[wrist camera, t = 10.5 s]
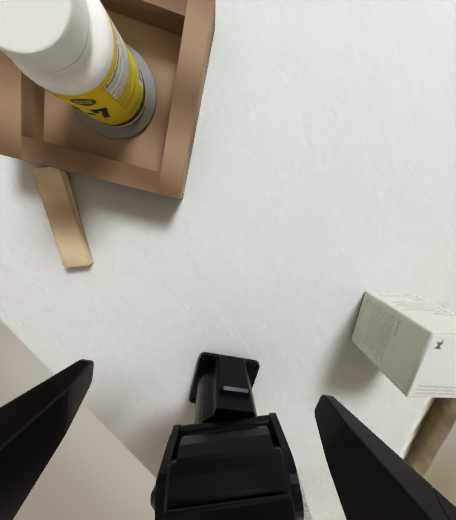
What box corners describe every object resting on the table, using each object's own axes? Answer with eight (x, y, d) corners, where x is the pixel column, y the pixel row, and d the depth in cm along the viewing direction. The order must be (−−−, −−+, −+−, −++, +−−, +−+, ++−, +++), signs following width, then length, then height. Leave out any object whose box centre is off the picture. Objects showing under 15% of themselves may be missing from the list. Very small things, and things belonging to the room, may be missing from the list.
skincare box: (349, 340, 24) (404, 399, 17) (364, 289, 23) (433, 332, 16) (399, 342, 25) (473, 401, 18) (418, 293, 23) (507, 337, 16)
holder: (182, 198, 19) (177, 199, 16) (29, 159, 17) (-4, 153, 15) (215, 28, 16) (215, -6, 13) (31, -39, 14) (-12, -94, 11)
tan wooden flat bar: (93, 262, 20) (88, 265, 19) (70, 265, 20) (65, 268, 19) (64, 167, 18) (58, 166, 17) (39, 169, 18) (31, 168, 17)
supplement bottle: (69, 108, 16) (-84, 18, 8) (87, 33, 14) (-68, -166, 6) (136, 141, 16) (62, 92, 8) (158, 73, 15) (98, -59, 7)
